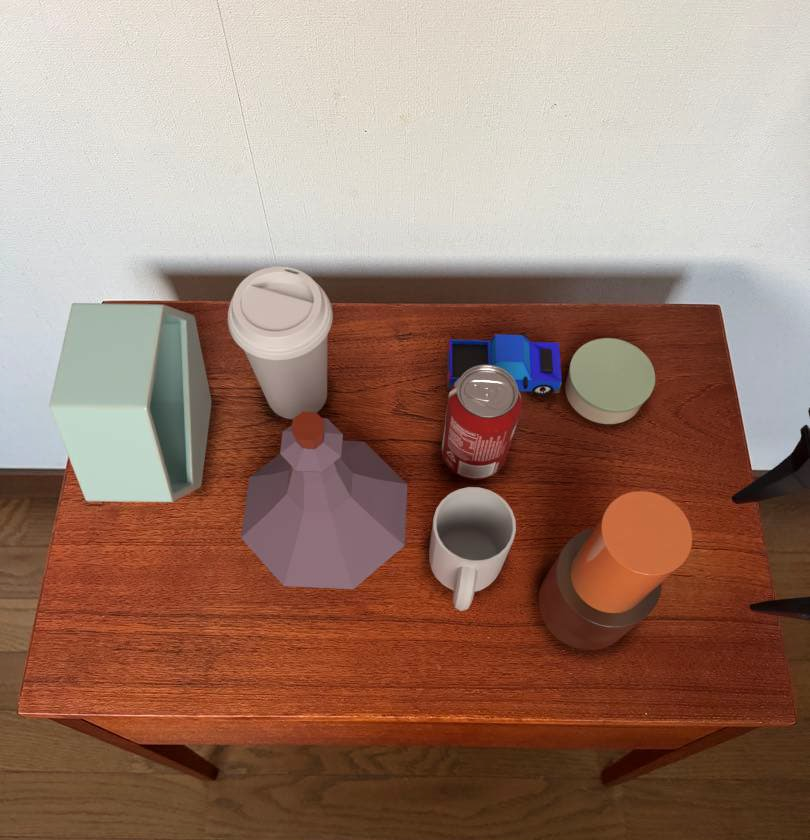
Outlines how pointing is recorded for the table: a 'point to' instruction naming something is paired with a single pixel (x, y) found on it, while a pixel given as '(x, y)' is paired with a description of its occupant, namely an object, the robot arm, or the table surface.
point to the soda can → (480, 421)
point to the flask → (324, 508)
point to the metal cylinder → (584, 607)
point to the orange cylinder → (630, 551)
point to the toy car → (509, 361)
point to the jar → (609, 380)
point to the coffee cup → (284, 337)
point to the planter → (132, 402)
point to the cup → (470, 541)
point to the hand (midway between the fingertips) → (742, 553)
